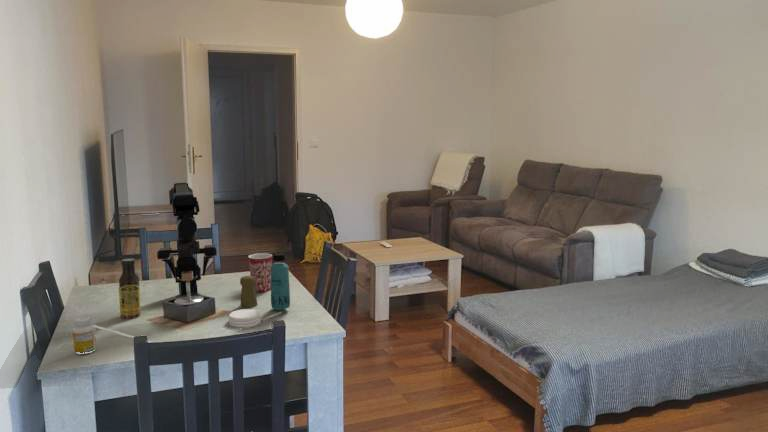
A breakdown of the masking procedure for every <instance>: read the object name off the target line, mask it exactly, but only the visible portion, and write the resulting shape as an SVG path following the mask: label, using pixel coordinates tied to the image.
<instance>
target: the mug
mask: <svg viewBox="0 0 768 432" xmlns="http://www.w3.org/2000/svg"><path fill="white" fill-rule="evenodd" d="M247 257H248V263H249V264H248V265H249V273H250V274H249V276H253V277H254V278H255V284H254V288H255V293H264V292H269V291H270V288H271V275H270V267H271V266H272V262H273V254H271V253H267V252H263V253H262V252H261V253H253V254H252V253H251V254H250V255H248V256H247Z"/></svg>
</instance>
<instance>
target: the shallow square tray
mask: <svg viewBox="0 0 768 432" xmlns="http://www.w3.org/2000/svg"><path fill="white" fill-rule="evenodd" d="M199 294H200V293H199ZM199 294H194V293H191V296H201V297H203V298H204V301H201V302H198V303H195V304H192V305H189V306H184V305H180V304H175V303H174V301H175V300H176V299H178V298H181V297H185V296H187V294H186V295H183V296H180V297H177V296H174V297H171V298H170V299H167V300H165V301H162V312H163V313H164V318H166V319H170V320H174V321H178V322H182V323H186V324H189V323H191V322H194V321H197V320H200V319H202V318H205V317H208V316H211V315H213V314H216V308H217V307H216V298H215V297H213V296H207V295H203V294H200V295H199Z"/></svg>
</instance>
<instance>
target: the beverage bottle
mask: <svg viewBox="0 0 768 432" xmlns="http://www.w3.org/2000/svg"><path fill="white" fill-rule="evenodd" d="M284 261H286V254H285V253H284V252H283V253H281V252H279V253H274V254H272V262H274V263H271V267H270V275H271V288H270V290H269V291H270V306H271V309H273V310H286V309H289V308H290V307H291V293H290V272H289V270H290V269H289V268H290V267H289V265H288V264H287V263H285V262H284Z"/></svg>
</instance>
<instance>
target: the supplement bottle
mask: <svg viewBox="0 0 768 432" xmlns="http://www.w3.org/2000/svg"><path fill="white" fill-rule="evenodd" d="M91 321H92V320H91V317H89V316H82V317H78V318H75V319H74V327H73V329H72V338H73V349H74V353H75V352H80V353H83V352H84V353H85V352H90V351H93V350H95V349H96V350H97V345H96V334H95V326H94V325H93V324H91V323H92V322H91Z"/></svg>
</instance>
